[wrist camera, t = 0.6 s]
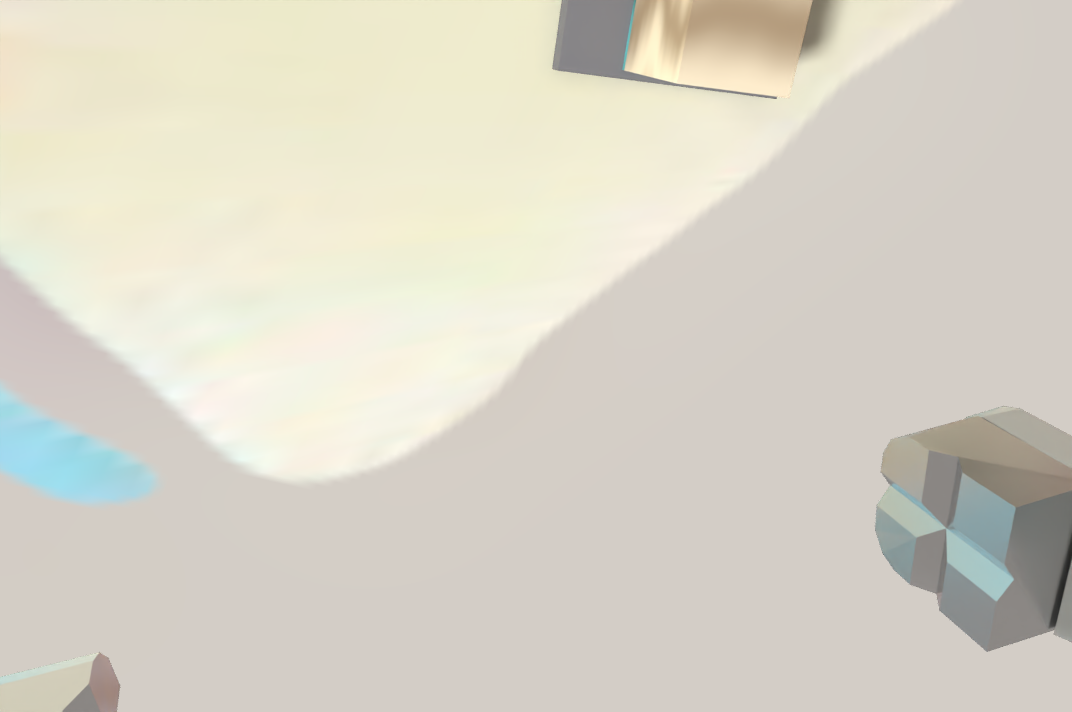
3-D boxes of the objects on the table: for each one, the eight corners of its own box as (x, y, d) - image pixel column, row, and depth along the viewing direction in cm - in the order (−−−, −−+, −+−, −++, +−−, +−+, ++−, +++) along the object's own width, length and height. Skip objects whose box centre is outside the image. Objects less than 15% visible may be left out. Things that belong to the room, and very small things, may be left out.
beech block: (644, -61, 48) (705, -65, 42) (750, -40, 51) (822, -41, 45) (622, 69, 51) (677, 83, 45) (724, 83, 53) (789, 98, 47)
